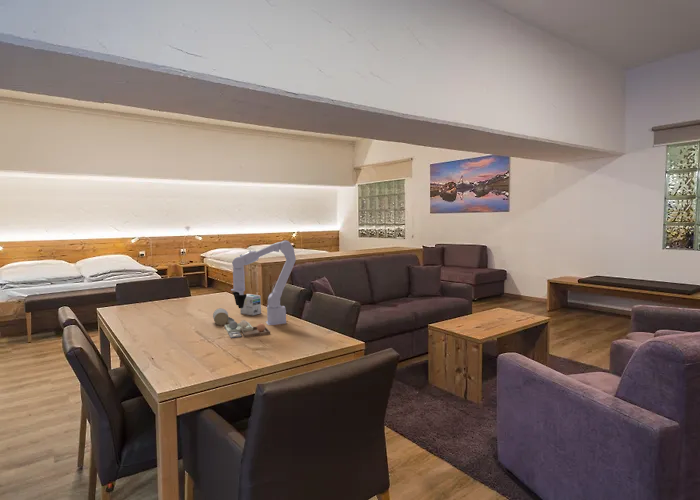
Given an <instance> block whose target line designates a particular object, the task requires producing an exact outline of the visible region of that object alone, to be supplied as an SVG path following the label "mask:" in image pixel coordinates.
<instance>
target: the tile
mask: <svg viewBox="0 0 700 500" xmlns="http://www.w3.org/2000/svg"><path fill="white" fill-rule="evenodd" d="M227 334H228V336H229V337H230V339H237V338H243V334H242V333H241V332H231V333H228V332H227Z"/></svg>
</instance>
